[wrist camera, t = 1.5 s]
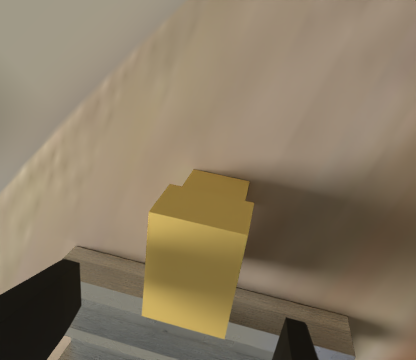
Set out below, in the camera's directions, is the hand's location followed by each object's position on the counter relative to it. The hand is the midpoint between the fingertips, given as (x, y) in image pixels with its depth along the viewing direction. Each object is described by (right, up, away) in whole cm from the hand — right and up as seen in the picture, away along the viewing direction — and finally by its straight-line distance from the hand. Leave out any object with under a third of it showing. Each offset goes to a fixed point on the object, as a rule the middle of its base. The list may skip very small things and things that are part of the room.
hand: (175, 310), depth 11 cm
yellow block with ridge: (+1, +3, +6) cm, 7 cm away
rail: (0, -5, +10) cm, 11 cm away
